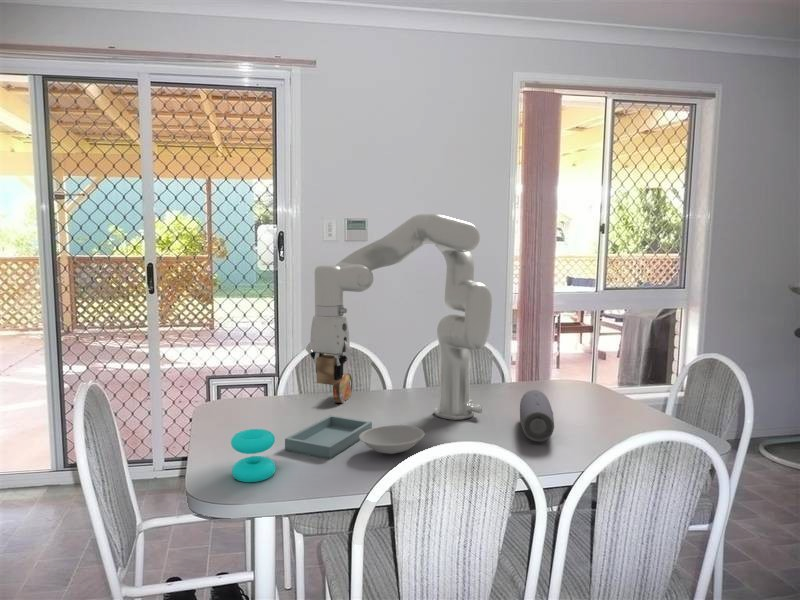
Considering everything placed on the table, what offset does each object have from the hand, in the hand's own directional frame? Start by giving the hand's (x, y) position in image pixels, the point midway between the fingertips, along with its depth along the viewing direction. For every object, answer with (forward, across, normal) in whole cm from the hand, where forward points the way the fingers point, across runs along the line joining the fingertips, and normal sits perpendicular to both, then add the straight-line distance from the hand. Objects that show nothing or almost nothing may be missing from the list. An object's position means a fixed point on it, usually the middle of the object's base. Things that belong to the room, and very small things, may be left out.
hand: (329, 377), depth 158 cm
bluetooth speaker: (+18, -49, -33) cm, 62 cm away
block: (+1, 0, 0) cm, 1 cm away
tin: (+18, +18, -36) cm, 44 cm away
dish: (+18, -19, 0) cm, 26 cm away
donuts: (+18, +4, +27) cm, 33 cm away
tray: (+18, 0, 0) cm, 18 cm away
